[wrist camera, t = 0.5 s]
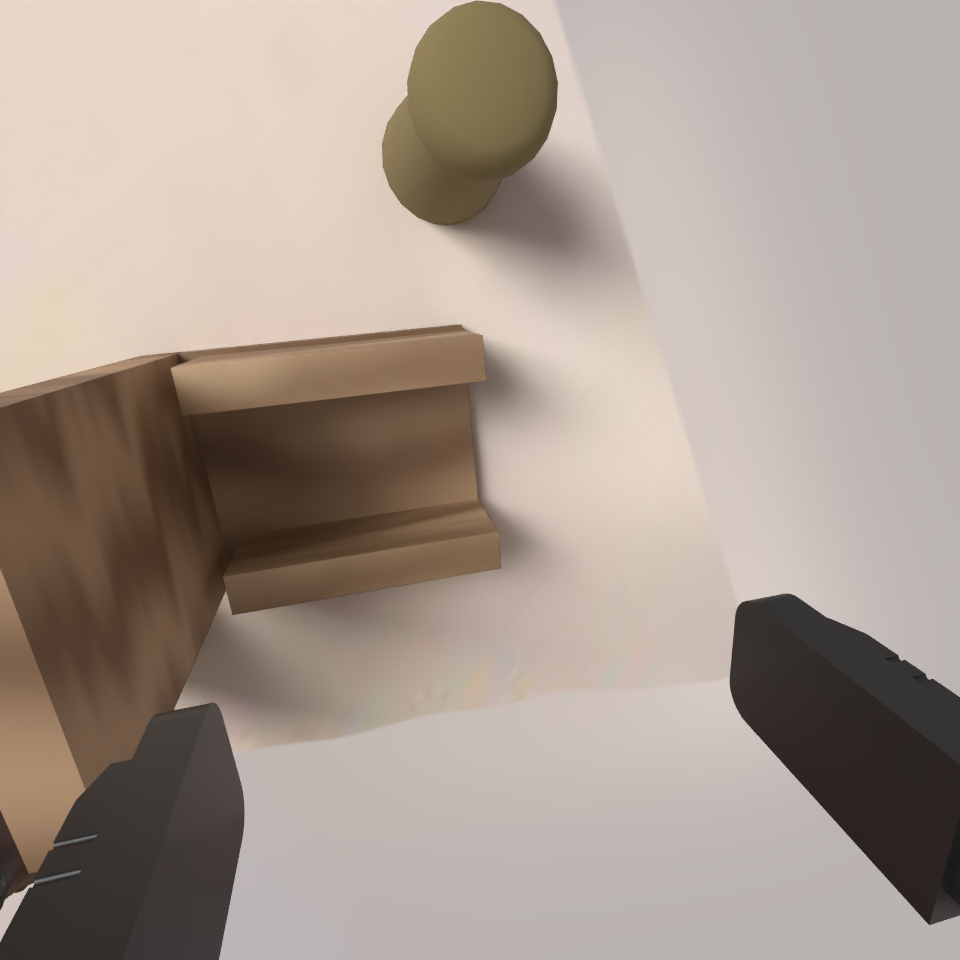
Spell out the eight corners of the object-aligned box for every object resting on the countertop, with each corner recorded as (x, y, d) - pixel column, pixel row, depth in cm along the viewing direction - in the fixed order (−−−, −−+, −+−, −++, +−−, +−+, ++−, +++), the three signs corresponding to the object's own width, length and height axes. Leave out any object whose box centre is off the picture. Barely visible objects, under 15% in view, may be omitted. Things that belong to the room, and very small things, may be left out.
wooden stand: (140, 356, 28) (-168, 437, 12) (458, 324, 31) (583, 353, 14) (198, 573, 32) (28, 873, 15) (477, 528, 35) (594, 741, 18)
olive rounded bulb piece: (375, 211, 29) (387, 161, 18) (389, 73, 27) (412, -66, 17) (491, 235, 30) (563, 202, 20) (511, 105, 29) (601, -3, 18)
